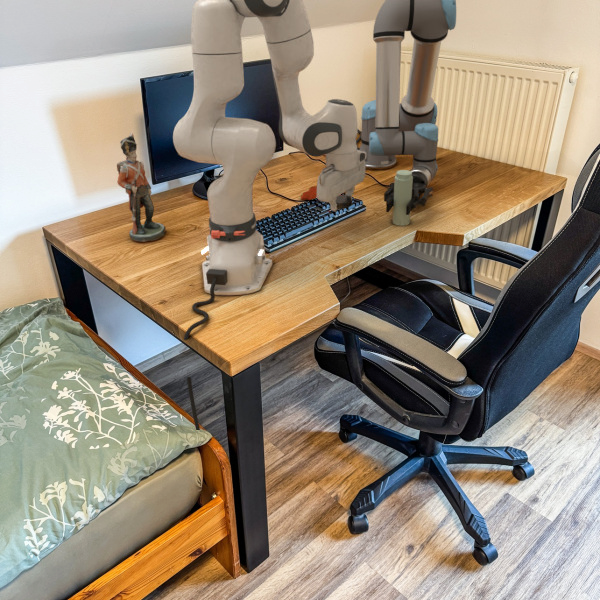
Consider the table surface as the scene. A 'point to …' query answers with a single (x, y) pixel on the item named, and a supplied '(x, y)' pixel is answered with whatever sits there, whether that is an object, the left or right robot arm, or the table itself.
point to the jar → (402, 197)
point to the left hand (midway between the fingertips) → (341, 205)
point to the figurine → (138, 193)
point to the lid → (343, 201)
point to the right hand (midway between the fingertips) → (397, 209)
